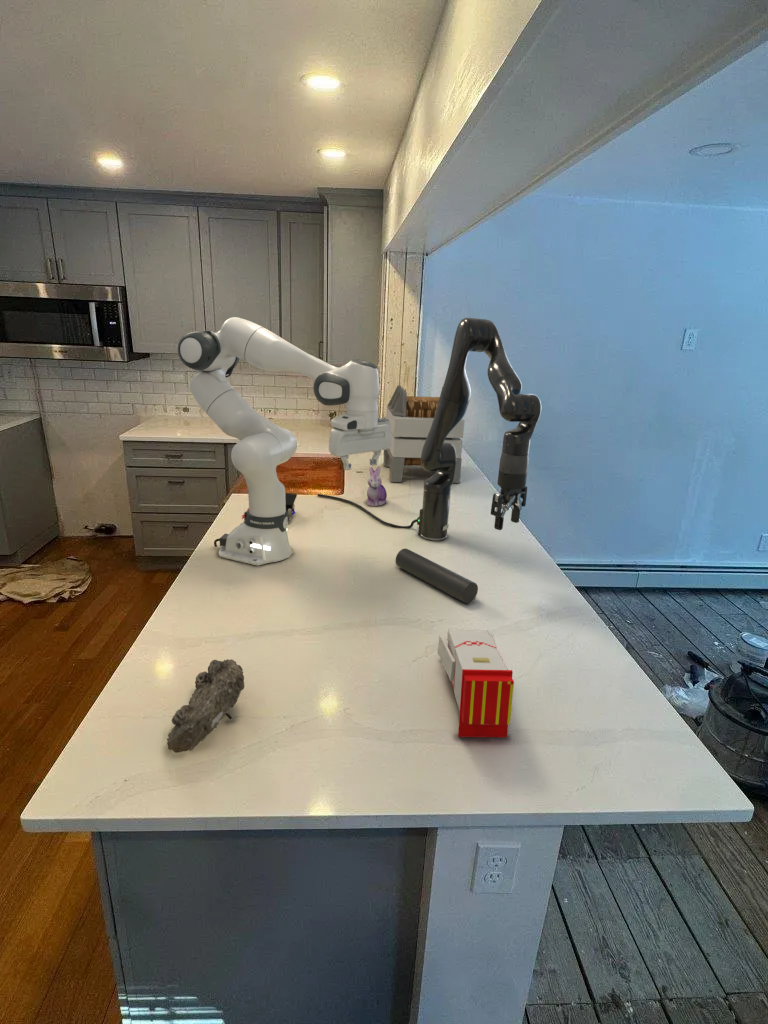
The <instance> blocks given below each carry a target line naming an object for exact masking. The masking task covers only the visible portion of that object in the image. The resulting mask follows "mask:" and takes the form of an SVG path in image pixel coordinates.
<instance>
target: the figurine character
mask: <svg viewBox="0 0 768 1024" xmlns="http://www.w3.org/2000/svg"><path fill="white" fill-rule="evenodd" d="M297 496H298V494H297V493H288V492H287V493H286V492H285V499H286V510H287V518H288V523H289V522H290V520H291V519H292V518H293V515H294V514H296V511H295V508H296V505H295V502H296V498H297Z"/></svg>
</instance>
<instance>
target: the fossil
mask: <svg viewBox="0 0 768 1024" xmlns="http://www.w3.org/2000/svg"><path fill="white" fill-rule="evenodd" d="M243 670H244V669H243V667H242V665H240V664H237V662H236V661H235V660H234V659H232V658H231V659H227V658H226V659H224V660H223V661H222V660H217V659H212V660H211V661H210V663H209V665H208V666H207V671H201V672H199V673H198V674H197V675H196V676H195V680H194V684H195V685H194V687H195V689H194V690H193V693H192V694H191V697H190V698H189V700H188V704H184V705H182V706H181V707H180V709H177V710H176V711H175V713H174V715H173V716H172V718H171V723H172V724H173V727H172V730H171V731H170V732H168V734H167V738H166V741H167V742H166V745H167V749H168V750H169V751H173V752H174V753H176V754H178V753H182V752H188V751H189V752H192V751H193V750H195V748H196V747H197V746H199V744H200V743H201V742H203V741H204V740H205V739H206V738H207V737H208V736H209V735H210V734H211V733H212V732H214V730H215V729H217V727H218V726H219V724H220V722H221V721H222V720H223V719H224V718H225V716H226V717H227V719H229V720H233V717H232V715H230V714H229V710H230V709H231V708H234V706H235V704H236V703H237V702H238V699H239V697H240V695H241V693H242V691H243V690H245V689H244V688H245V675H244V671H243Z"/></svg>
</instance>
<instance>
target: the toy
mask: <svg viewBox="0 0 768 1024" xmlns="http://www.w3.org/2000/svg"><path fill="white" fill-rule="evenodd" d="M446 640H447V643H446V641H445V639H444V636H443V635H442V634H439V637H438V646H437V656H438V657H439V659H440V661H441V663H442V666H443V668H444V670H445V672H446V674H447V677H448V679H449V681H450V684H451V687H452V690H453V693H454V697H455V701H456V705H457V708H458V711H459V714H458V715H459V716H458V730H457V731H458V732H457V737H458V738H508V731H509V726H510V725H511V717H512V707H513V697H514V696H513V695H514V684H515V680H514V679H513V673H514V671H513V670H512V669H508V667H507V665H506V662H505V661H504V659H503V658H502V655H501V653H500V651H499V649H498V647H497V643H496V639H495V637H494V635H493V634H491V632H490V631H489V629H467V628H466V629H465V628H463V629H461V628H460V629H459V628H448V630H447V639H446Z"/></svg>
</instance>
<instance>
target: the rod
mask: <svg viewBox="0 0 768 1024" xmlns="http://www.w3.org/2000/svg"><path fill="white" fill-rule="evenodd" d="M395 565H396V566H397V567H398V568H399V569H401V570H404V571H405V572H407V573H409V574H411V575H413V576H415V577H416V578H418V579H420V580H422V581H423V582H426V583H428V584H429V585H431V586H433V587H435V588H437V589H438V590H439V591H442V592H444V593H446V594H448V595H449V596H451V597H453V598H455V599H457V600H459V601H460V602H462V603H464V604H470V603H472V602H473V601H474V600H475V599H476V597H477V595H478V591H479V587H478V584H477V583H476V582H475V581H472V580H471V579H468V578H466V577H464V576H462V575H461V574H458V573H457V572H455V571H453V570H450V569H448V568H446V567H444V566H442V565H441V564H438V563H437V562H435V561H433V560H431V559H428V558H426V557H424V556H422V555H421V554H419V553H417V552H414V551H413V550H410V549H409V548H402V549H400V550H399V551H398V552H397V554H396V556H395Z"/></svg>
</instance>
